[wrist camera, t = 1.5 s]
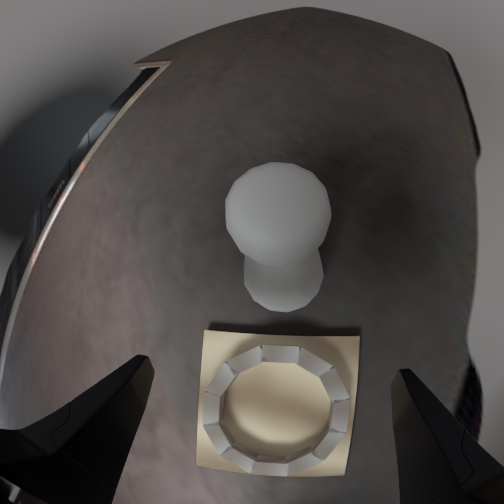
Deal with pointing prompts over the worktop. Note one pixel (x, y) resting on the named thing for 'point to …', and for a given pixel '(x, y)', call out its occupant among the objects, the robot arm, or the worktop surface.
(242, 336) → the ring stand
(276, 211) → the salt shaker
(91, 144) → the worktop surface
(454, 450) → the robot arm
